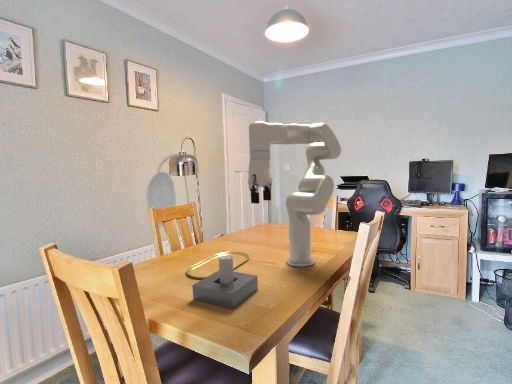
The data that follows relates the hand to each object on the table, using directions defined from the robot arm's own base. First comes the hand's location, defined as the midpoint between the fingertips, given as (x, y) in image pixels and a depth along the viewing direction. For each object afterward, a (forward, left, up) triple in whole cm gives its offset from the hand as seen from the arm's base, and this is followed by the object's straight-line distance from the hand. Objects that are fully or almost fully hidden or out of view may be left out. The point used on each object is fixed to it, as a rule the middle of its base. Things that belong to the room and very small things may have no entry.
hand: (261, 201), depth 109 cm
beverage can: (+17, -6, -30) cm, 34 cm away
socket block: (+17, -6, -30) cm, 35 cm away
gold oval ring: (-7, -26, -31) cm, 41 cm away
